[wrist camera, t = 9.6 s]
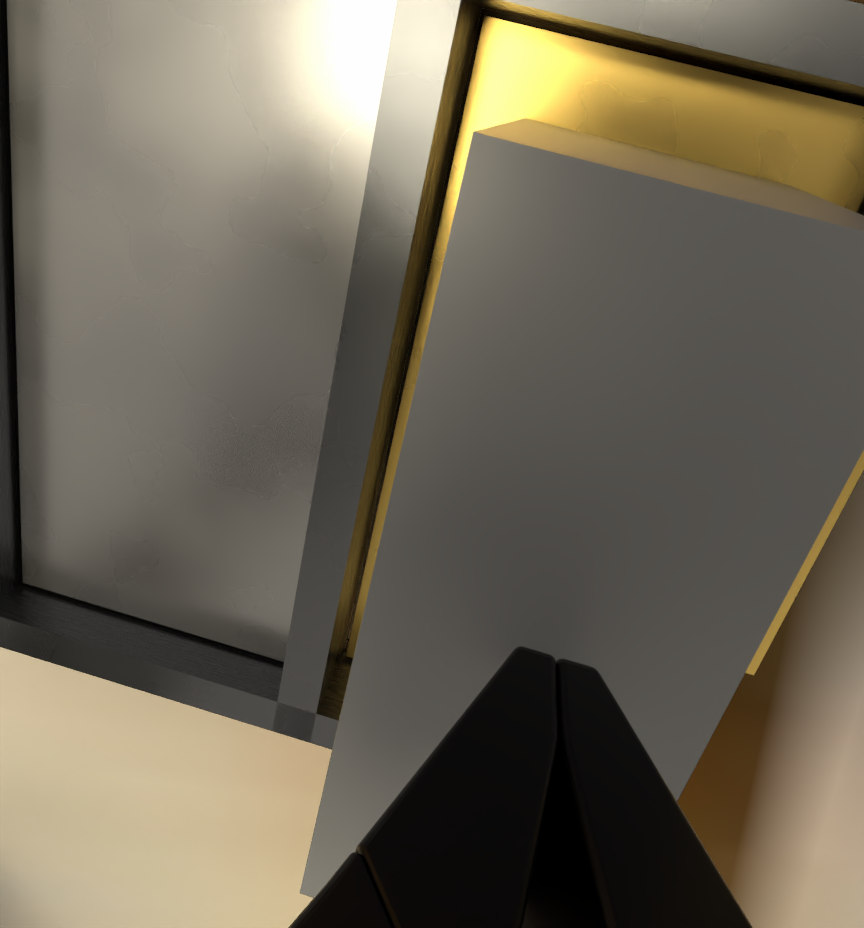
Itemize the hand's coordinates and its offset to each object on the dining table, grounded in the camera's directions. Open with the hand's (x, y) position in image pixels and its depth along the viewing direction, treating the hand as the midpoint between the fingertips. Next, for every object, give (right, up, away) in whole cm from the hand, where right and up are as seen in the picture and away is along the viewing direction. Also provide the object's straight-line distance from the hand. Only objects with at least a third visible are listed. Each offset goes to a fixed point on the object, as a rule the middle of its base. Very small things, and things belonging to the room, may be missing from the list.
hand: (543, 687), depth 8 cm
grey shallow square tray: (-2, +4, +6) cm, 8 cm away
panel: (+1, +3, +6) cm, 6 cm away
